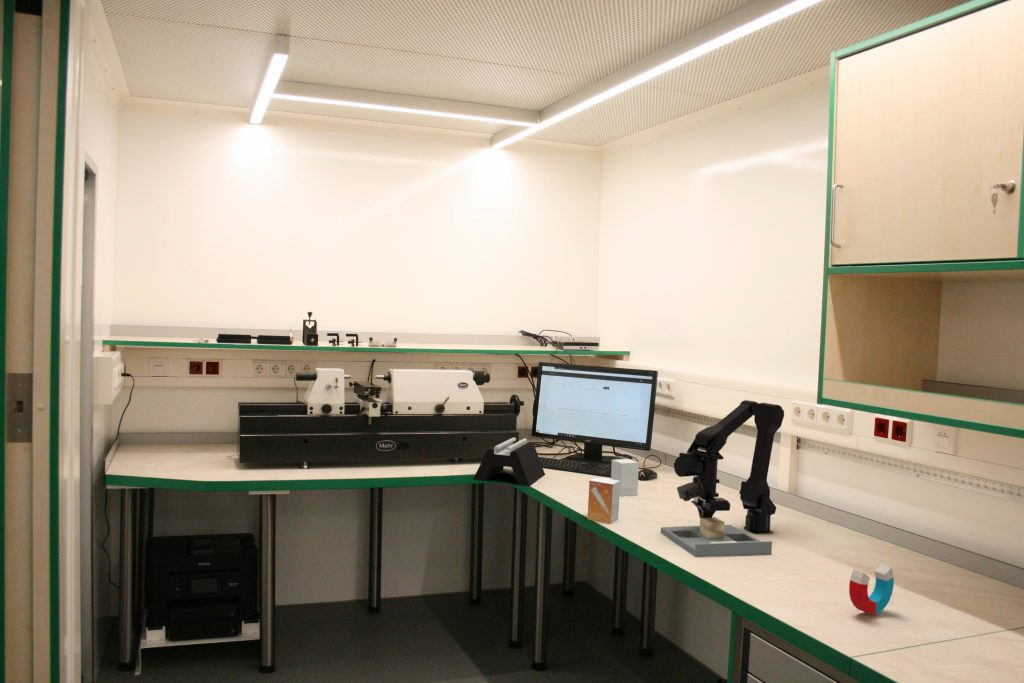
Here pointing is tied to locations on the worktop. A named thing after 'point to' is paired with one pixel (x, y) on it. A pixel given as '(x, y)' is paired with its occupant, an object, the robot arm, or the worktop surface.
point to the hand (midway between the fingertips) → (704, 527)
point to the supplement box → (626, 476)
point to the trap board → (717, 542)
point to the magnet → (879, 594)
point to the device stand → (512, 462)
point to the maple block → (712, 527)
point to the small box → (603, 500)
